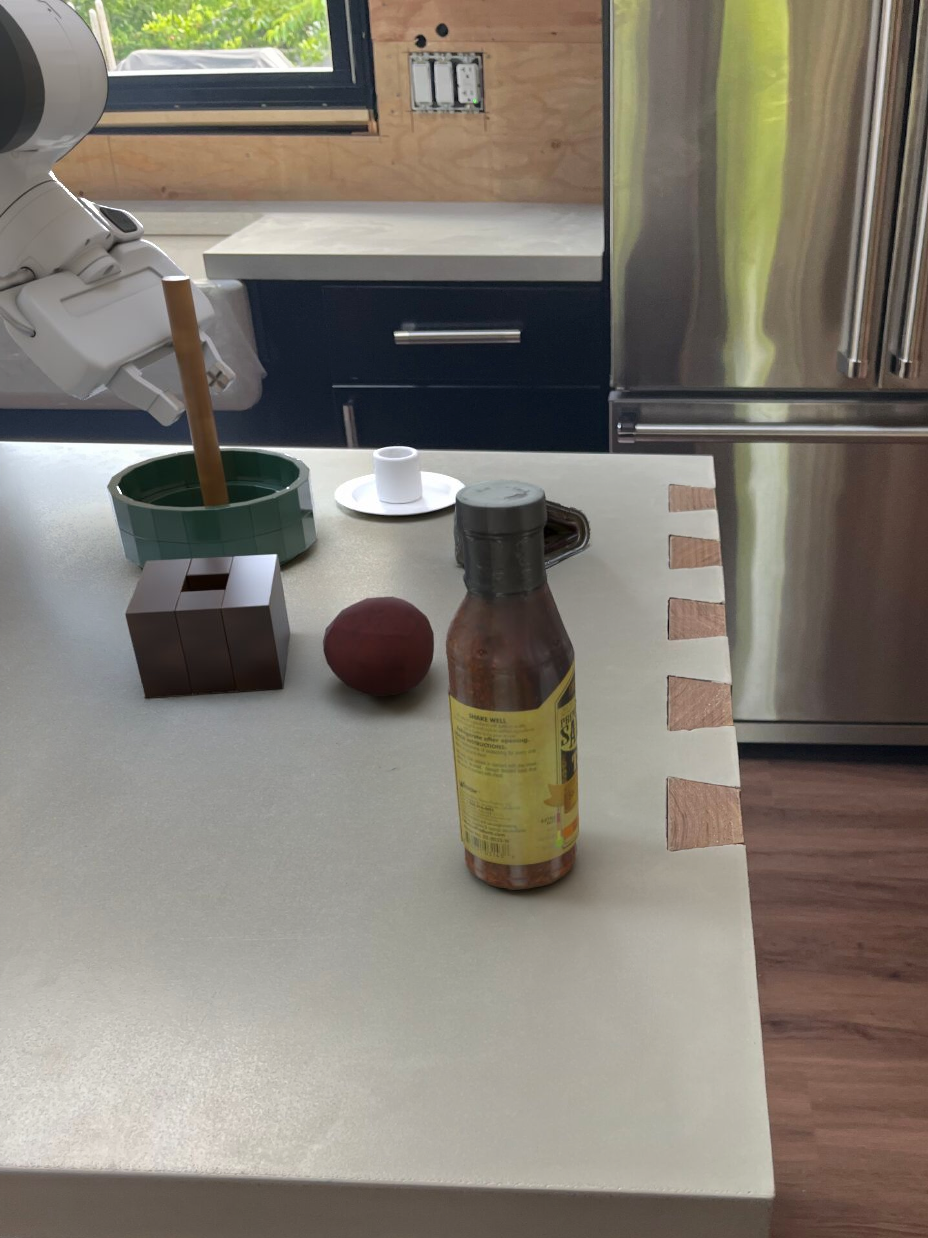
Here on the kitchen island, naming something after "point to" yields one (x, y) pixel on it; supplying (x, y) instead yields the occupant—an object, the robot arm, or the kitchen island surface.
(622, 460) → the kitchen island surface
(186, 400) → the stirring stick
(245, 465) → the bowl
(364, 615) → the potato
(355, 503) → the candle holder
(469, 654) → the sauce bottle
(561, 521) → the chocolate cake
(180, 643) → the stick holder
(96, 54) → the robot arm
